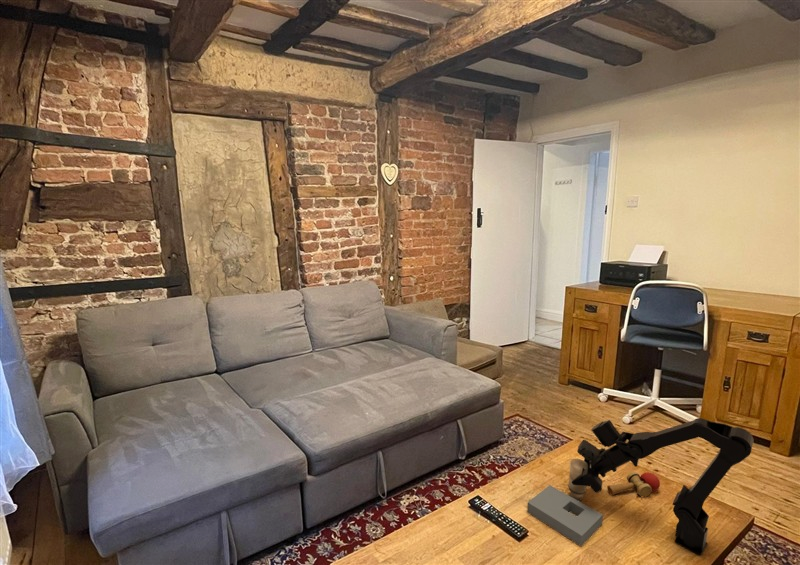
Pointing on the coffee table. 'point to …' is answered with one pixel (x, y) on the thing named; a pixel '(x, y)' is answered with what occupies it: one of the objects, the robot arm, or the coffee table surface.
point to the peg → (575, 471)
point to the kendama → (637, 484)
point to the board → (565, 514)
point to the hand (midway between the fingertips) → (573, 478)
